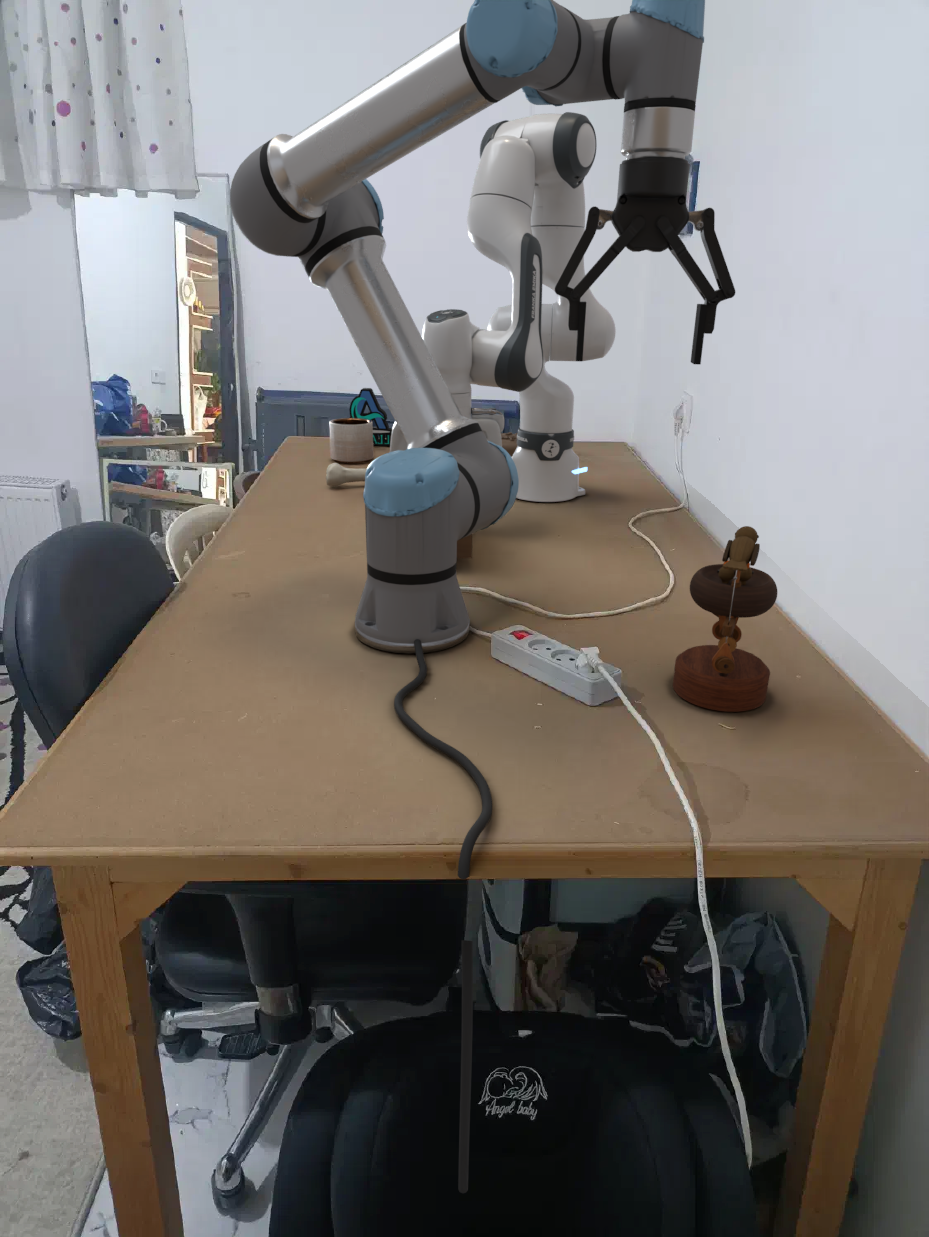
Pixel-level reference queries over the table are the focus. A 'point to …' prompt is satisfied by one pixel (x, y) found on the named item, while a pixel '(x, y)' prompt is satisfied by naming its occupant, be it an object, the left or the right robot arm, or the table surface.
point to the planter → (351, 440)
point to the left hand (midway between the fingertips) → (636, 362)
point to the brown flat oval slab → (509, 442)
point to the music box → (728, 631)
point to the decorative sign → (372, 415)
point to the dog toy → (343, 475)
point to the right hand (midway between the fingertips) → (445, 485)
